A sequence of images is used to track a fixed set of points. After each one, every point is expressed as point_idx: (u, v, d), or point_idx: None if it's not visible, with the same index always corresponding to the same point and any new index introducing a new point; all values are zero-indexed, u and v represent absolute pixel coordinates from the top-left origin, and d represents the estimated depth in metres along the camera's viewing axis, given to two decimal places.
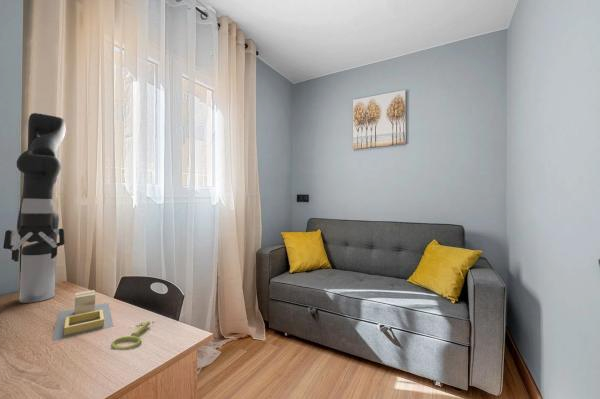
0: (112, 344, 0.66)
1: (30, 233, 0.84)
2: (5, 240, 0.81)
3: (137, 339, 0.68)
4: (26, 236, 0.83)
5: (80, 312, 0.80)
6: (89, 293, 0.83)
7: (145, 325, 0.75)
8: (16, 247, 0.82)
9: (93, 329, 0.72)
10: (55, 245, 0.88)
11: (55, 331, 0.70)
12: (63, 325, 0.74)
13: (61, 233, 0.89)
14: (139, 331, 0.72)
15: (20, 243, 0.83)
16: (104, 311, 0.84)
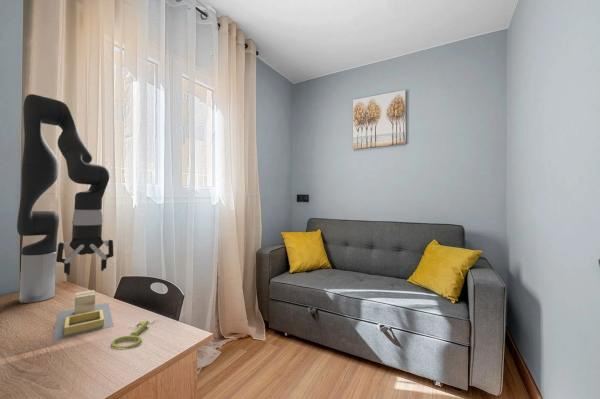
0: (112, 344, 0.66)
1: (82, 245, 0.81)
2: (58, 253, 0.78)
3: (137, 338, 0.69)
4: (78, 249, 0.80)
5: (80, 312, 0.80)
6: (89, 293, 0.83)
7: (144, 324, 0.75)
8: (68, 260, 0.79)
9: (93, 329, 0.72)
10: (105, 257, 0.85)
11: (55, 331, 0.70)
12: (63, 325, 0.74)
13: (110, 245, 0.86)
14: (138, 330, 0.72)
15: (72, 256, 0.80)
16: (104, 311, 0.84)
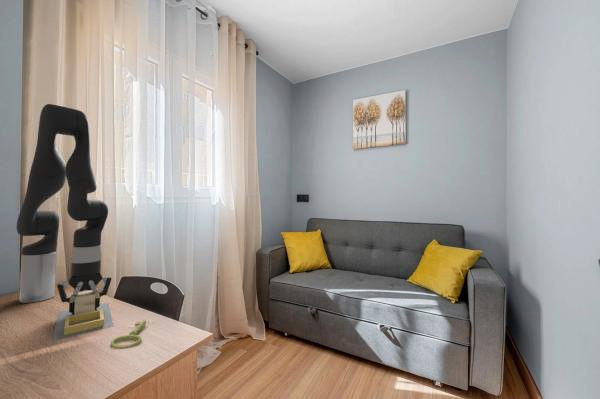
0: (112, 343, 0.66)
1: (80, 283, 0.81)
2: (60, 294, 0.78)
3: (137, 337, 0.69)
4: (78, 286, 0.81)
5: (80, 312, 0.80)
6: (89, 293, 0.83)
7: (142, 324, 0.75)
8: (73, 299, 0.80)
9: (93, 329, 0.72)
10: (98, 296, 0.84)
11: (55, 331, 0.70)
12: (63, 325, 0.74)
13: (108, 282, 0.86)
14: (137, 330, 0.72)
15: (75, 295, 0.80)
16: (104, 311, 0.84)
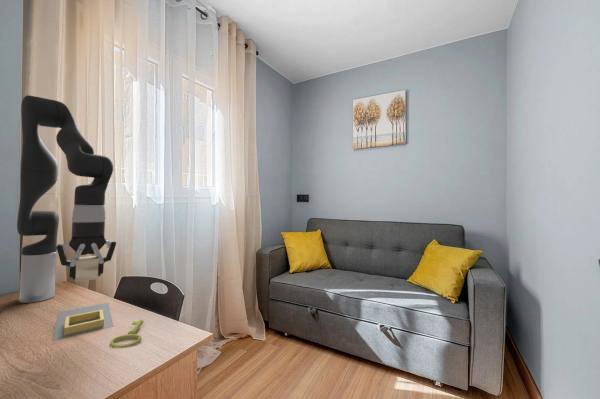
0: (111, 343, 0.66)
1: (82, 245, 0.73)
2: (60, 256, 0.70)
3: (136, 336, 0.70)
4: (79, 249, 0.72)
5: (82, 277, 0.72)
6: (92, 258, 0.75)
7: (139, 323, 0.76)
8: (74, 263, 0.72)
9: (93, 329, 0.72)
10: (102, 261, 0.76)
11: (55, 331, 0.70)
12: (63, 325, 0.74)
13: (112, 247, 0.78)
14: (135, 329, 0.73)
15: (76, 258, 0.72)
16: (104, 311, 0.84)
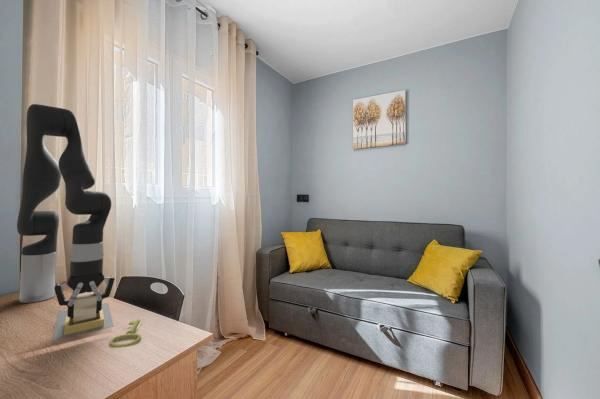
0: (111, 343, 0.66)
1: (80, 284, 0.72)
2: (58, 297, 0.70)
3: (136, 335, 0.70)
4: (77, 288, 0.72)
5: (80, 316, 0.72)
6: (90, 295, 0.75)
7: (136, 323, 0.76)
8: (72, 302, 0.72)
9: (93, 329, 0.72)
10: (100, 298, 0.76)
11: (55, 331, 0.70)
12: (63, 325, 0.74)
13: (111, 283, 0.78)
14: (133, 329, 0.73)
15: (74, 297, 0.72)
16: (104, 311, 0.84)
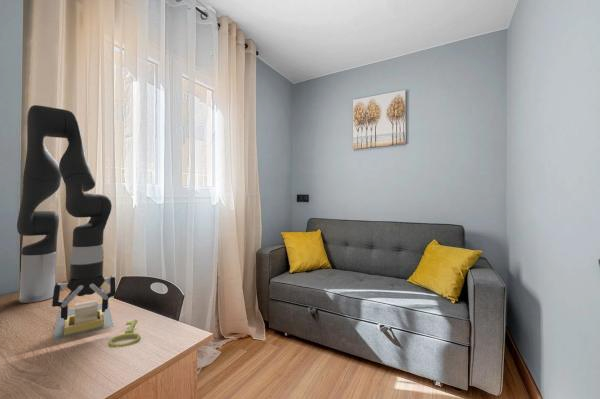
0: (110, 343, 0.66)
1: (81, 286, 0.73)
2: (54, 297, 0.69)
3: (135, 335, 0.70)
4: (76, 290, 0.72)
5: None
6: (91, 303, 0.75)
7: (134, 323, 0.76)
8: (66, 303, 0.71)
9: (93, 329, 0.72)
10: (106, 297, 0.77)
11: (55, 331, 0.70)
12: (63, 325, 0.74)
13: (112, 282, 0.78)
14: (131, 328, 0.73)
15: (70, 299, 0.71)
16: None
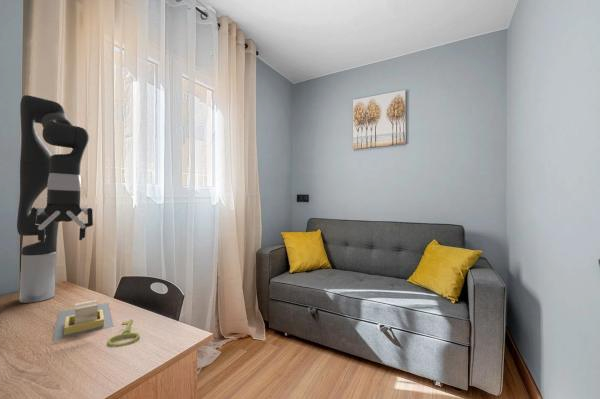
0: (110, 343, 0.66)
1: (57, 212, 0.76)
2: (31, 218, 0.73)
3: (134, 334, 0.71)
4: (53, 215, 0.75)
5: None
6: (91, 303, 0.75)
7: (130, 323, 0.76)
8: (43, 227, 0.74)
9: (93, 329, 0.72)
10: (83, 226, 0.80)
11: (55, 331, 0.70)
12: (63, 325, 0.74)
13: (90, 213, 0.81)
14: (129, 328, 0.73)
15: (47, 222, 0.75)
16: (104, 311, 0.84)
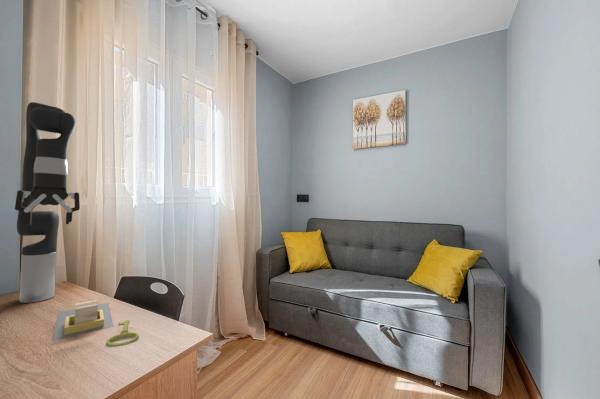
0: (109, 343, 0.66)
1: (44, 195, 0.77)
2: (17, 201, 0.74)
3: (132, 334, 0.71)
4: (39, 198, 0.76)
5: None
6: (91, 303, 0.75)
7: (127, 323, 0.76)
8: (29, 209, 0.75)
9: (93, 329, 0.72)
10: (70, 210, 0.81)
11: (55, 331, 0.70)
12: (63, 325, 0.74)
13: (76, 197, 0.82)
14: (126, 328, 0.73)
15: (33, 205, 0.76)
16: (104, 311, 0.84)
